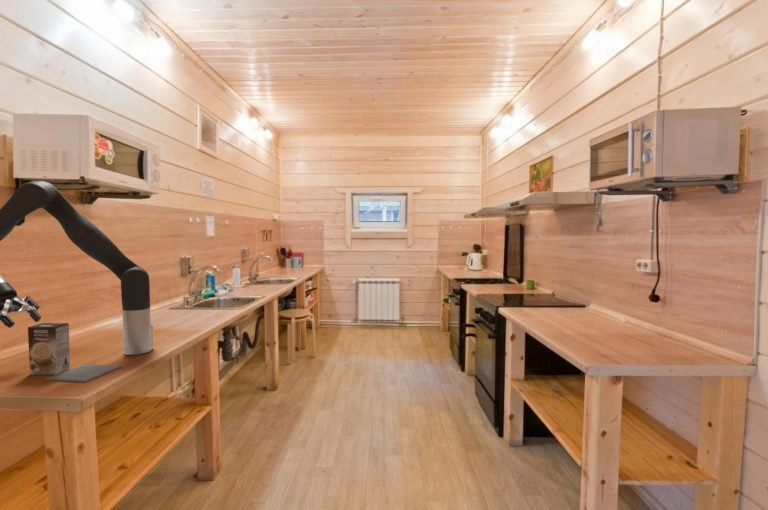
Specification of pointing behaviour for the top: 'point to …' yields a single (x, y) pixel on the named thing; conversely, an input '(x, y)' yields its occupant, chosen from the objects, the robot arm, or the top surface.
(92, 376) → the mat
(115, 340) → the top surface
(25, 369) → the top surface
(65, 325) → the coffee box
